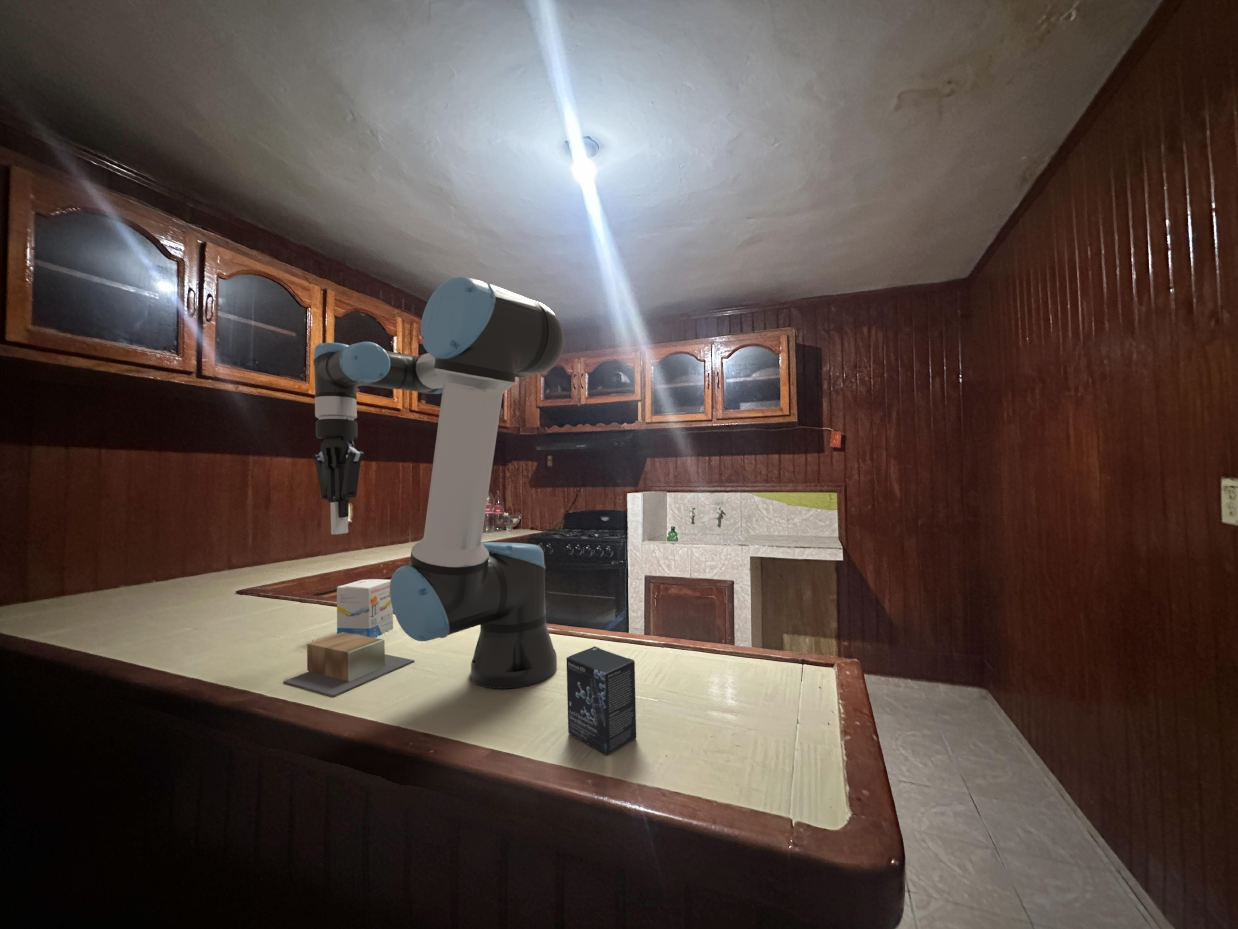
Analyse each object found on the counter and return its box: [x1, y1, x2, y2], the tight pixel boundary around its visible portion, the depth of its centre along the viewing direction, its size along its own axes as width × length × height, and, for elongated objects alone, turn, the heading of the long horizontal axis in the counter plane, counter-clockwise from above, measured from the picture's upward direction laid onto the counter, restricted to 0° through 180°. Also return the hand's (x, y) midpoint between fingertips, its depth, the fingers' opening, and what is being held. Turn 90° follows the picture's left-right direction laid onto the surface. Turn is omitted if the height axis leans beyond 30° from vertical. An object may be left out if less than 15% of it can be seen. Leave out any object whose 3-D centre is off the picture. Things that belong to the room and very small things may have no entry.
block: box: [306, 632, 386, 681], centre depth 90 cm, size 5×7×12 cm
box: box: [565, 645, 637, 756], centre depth 65 cm, size 8×6×11 cm
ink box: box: [336, 578, 394, 638], centre depth 112 cm, size 9×8×12 cm
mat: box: [282, 653, 415, 698], centre depth 89 cm, size 14×16×1 cm
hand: (339, 533), depth 100 cm, fingers closed
